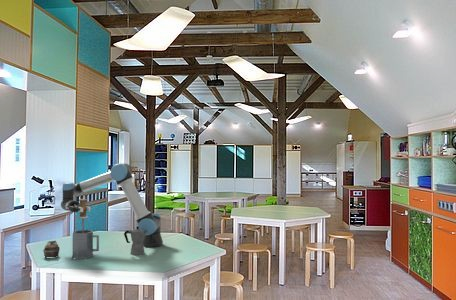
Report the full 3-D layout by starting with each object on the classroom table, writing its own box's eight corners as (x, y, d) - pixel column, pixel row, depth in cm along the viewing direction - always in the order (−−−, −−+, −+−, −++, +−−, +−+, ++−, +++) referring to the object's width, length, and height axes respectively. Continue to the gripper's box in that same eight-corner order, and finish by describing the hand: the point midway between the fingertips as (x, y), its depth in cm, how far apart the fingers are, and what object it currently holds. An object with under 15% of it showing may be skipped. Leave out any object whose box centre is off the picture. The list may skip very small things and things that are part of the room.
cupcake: (41, 256, 250) (41, 241, 251) (57, 254, 256) (57, 239, 256) (45, 259, 243) (45, 243, 243) (61, 257, 249) (61, 241, 249)
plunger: (92, 235, 252) (92, 199, 252) (82, 237, 245) (82, 200, 245) (83, 234, 255) (83, 198, 256) (73, 236, 248) (73, 199, 249)
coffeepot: (147, 251, 264) (147, 224, 264) (148, 254, 255) (148, 227, 255) (123, 252, 259) (123, 226, 260) (124, 256, 250) (124, 228, 251)
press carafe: (100, 255, 252) (100, 231, 252) (85, 260, 240) (85, 234, 240) (83, 253, 258) (83, 229, 259) (67, 257, 247) (67, 232, 247)
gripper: (85, 210, 269) (99, 214, 252) (60, 213, 258) (72, 216, 241) (85, 199, 270) (99, 202, 252) (60, 201, 258) (72, 204, 241)
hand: (86, 209), depth 246 cm, fingers closed on plunger, 4 cm apart
